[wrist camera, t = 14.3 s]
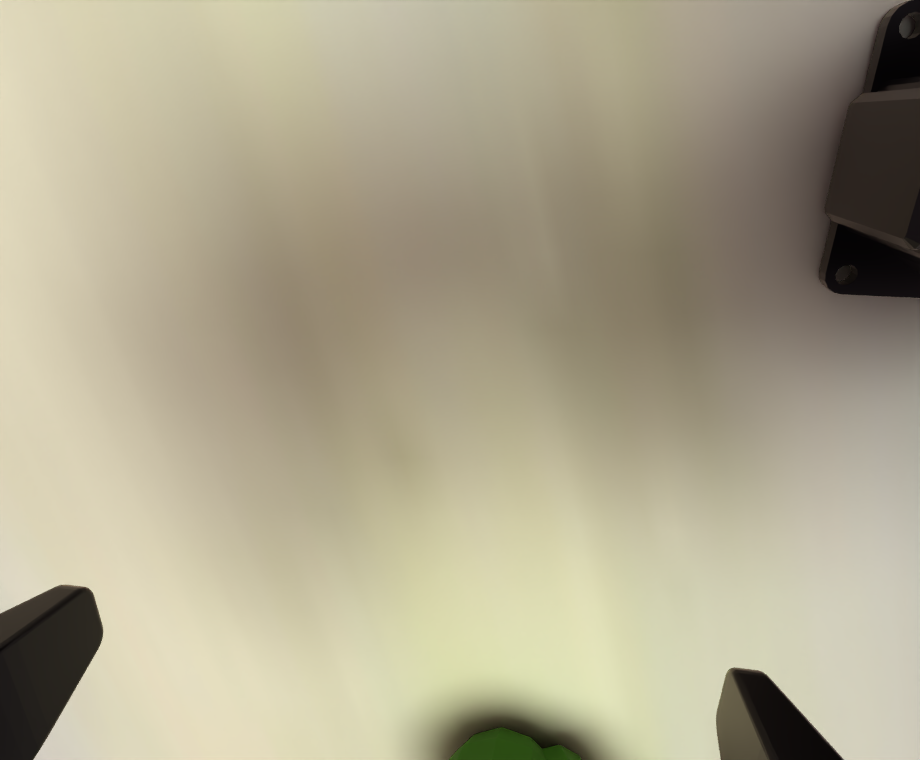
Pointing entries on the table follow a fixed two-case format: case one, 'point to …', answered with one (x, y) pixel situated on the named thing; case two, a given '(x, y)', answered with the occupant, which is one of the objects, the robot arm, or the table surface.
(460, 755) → the bell pepper
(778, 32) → the table surface
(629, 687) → the table surface
